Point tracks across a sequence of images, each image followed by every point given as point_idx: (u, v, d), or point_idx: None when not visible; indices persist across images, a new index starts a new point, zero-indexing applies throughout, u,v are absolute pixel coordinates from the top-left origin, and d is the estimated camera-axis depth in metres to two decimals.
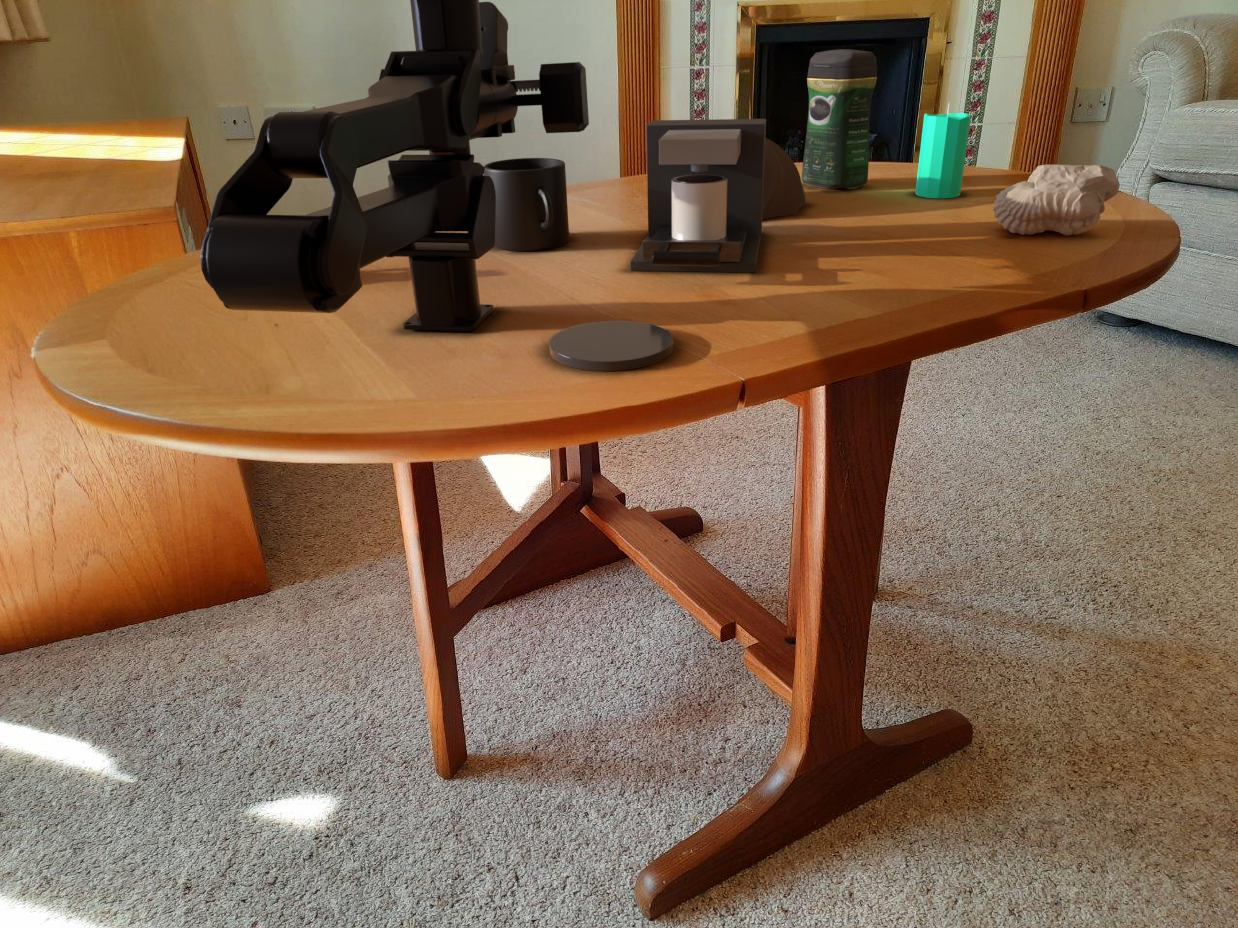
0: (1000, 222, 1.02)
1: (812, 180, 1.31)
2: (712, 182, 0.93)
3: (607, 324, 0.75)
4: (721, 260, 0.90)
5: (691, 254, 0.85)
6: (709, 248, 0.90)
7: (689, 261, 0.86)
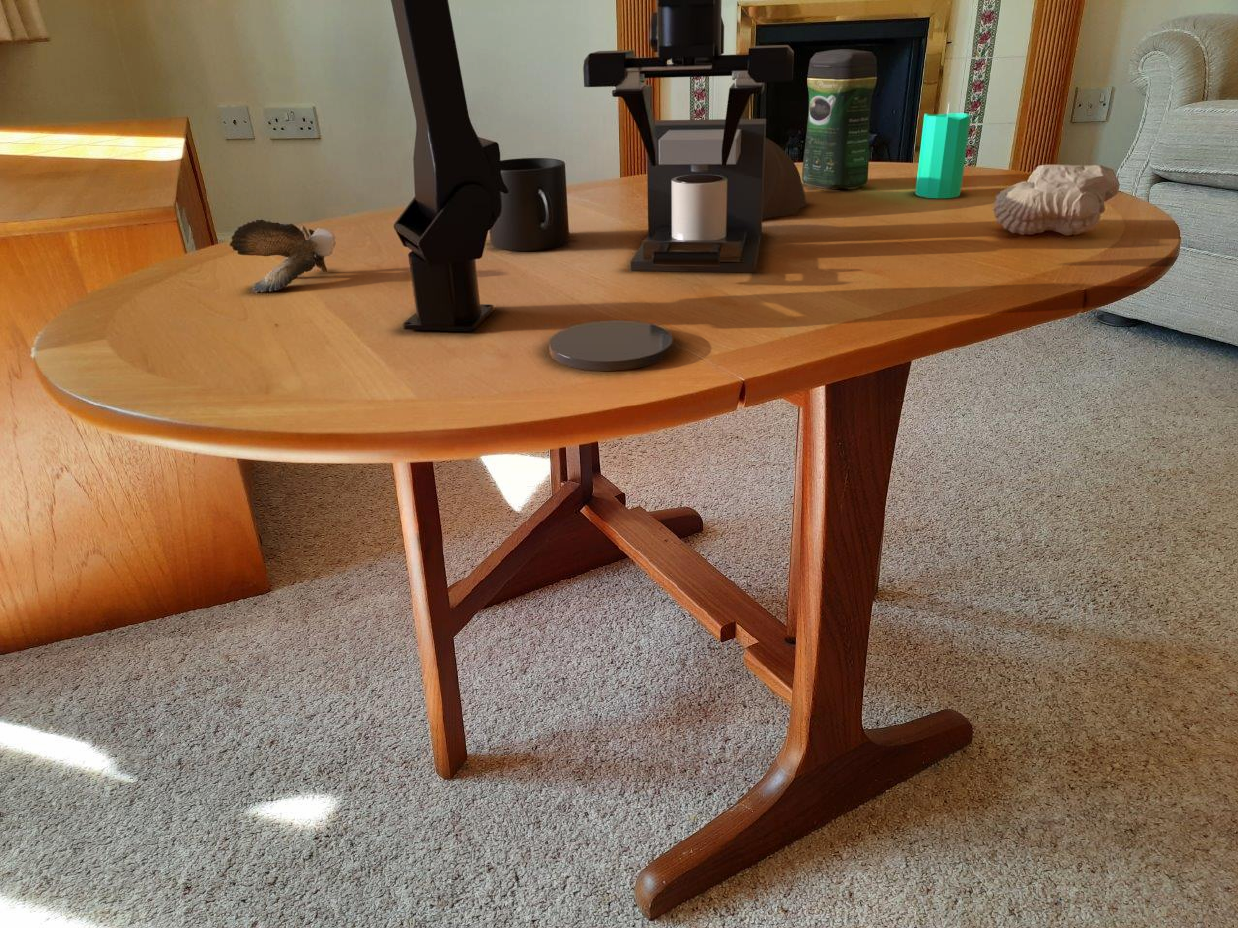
0: (1000, 222, 1.02)
1: (812, 180, 1.31)
2: (712, 182, 0.93)
3: (607, 324, 0.75)
4: (721, 260, 0.90)
5: (691, 254, 0.85)
6: (709, 248, 0.90)
7: (689, 261, 0.86)
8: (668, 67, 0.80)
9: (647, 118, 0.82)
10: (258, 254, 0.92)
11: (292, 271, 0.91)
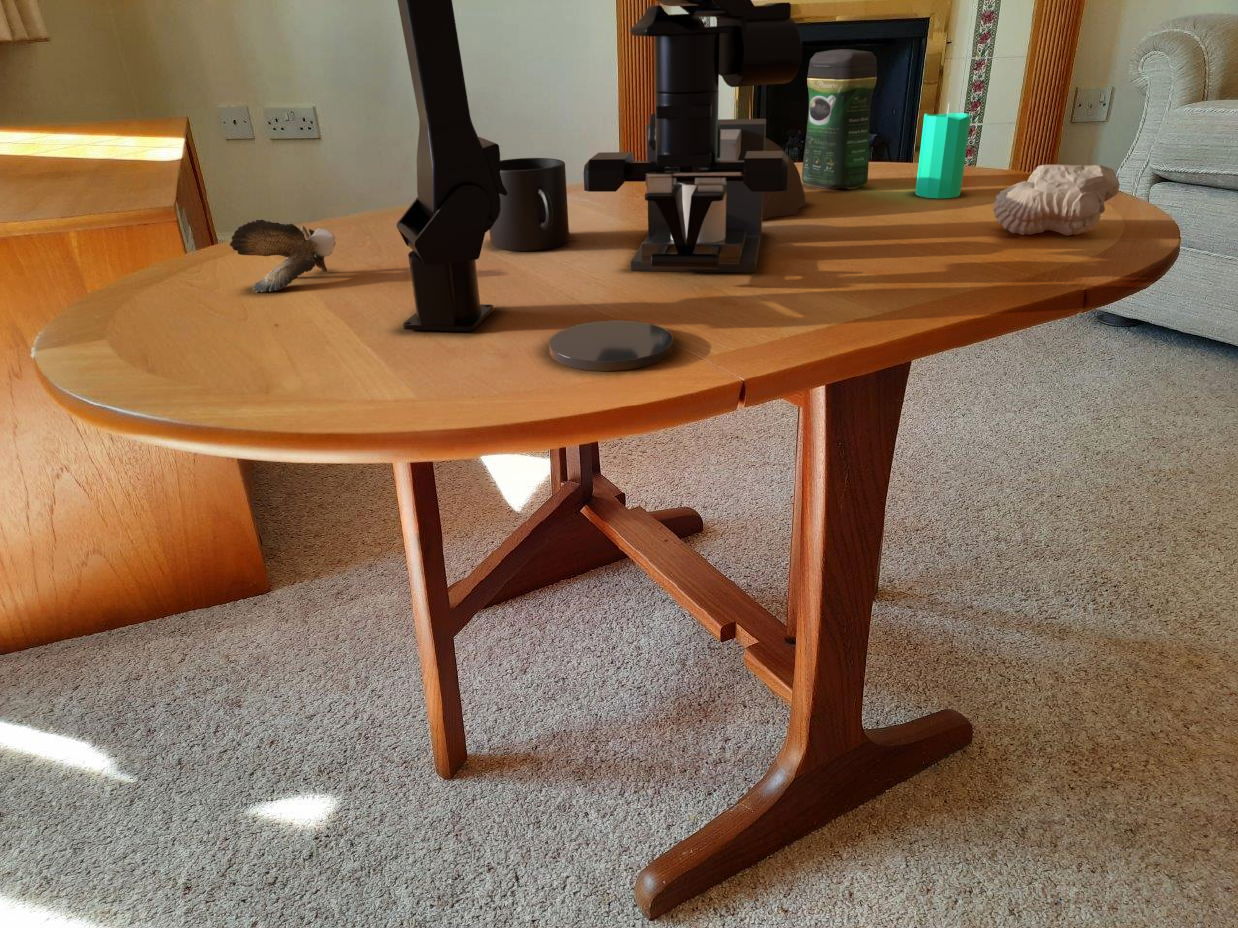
0: (1000, 222, 1.02)
1: (812, 180, 1.31)
2: None
3: (607, 324, 0.75)
4: (720, 262, 0.89)
5: (690, 256, 0.85)
6: (708, 250, 0.89)
7: (688, 264, 0.85)
8: (700, 173, 0.81)
9: (679, 220, 0.83)
10: (258, 254, 0.92)
11: (292, 271, 0.91)
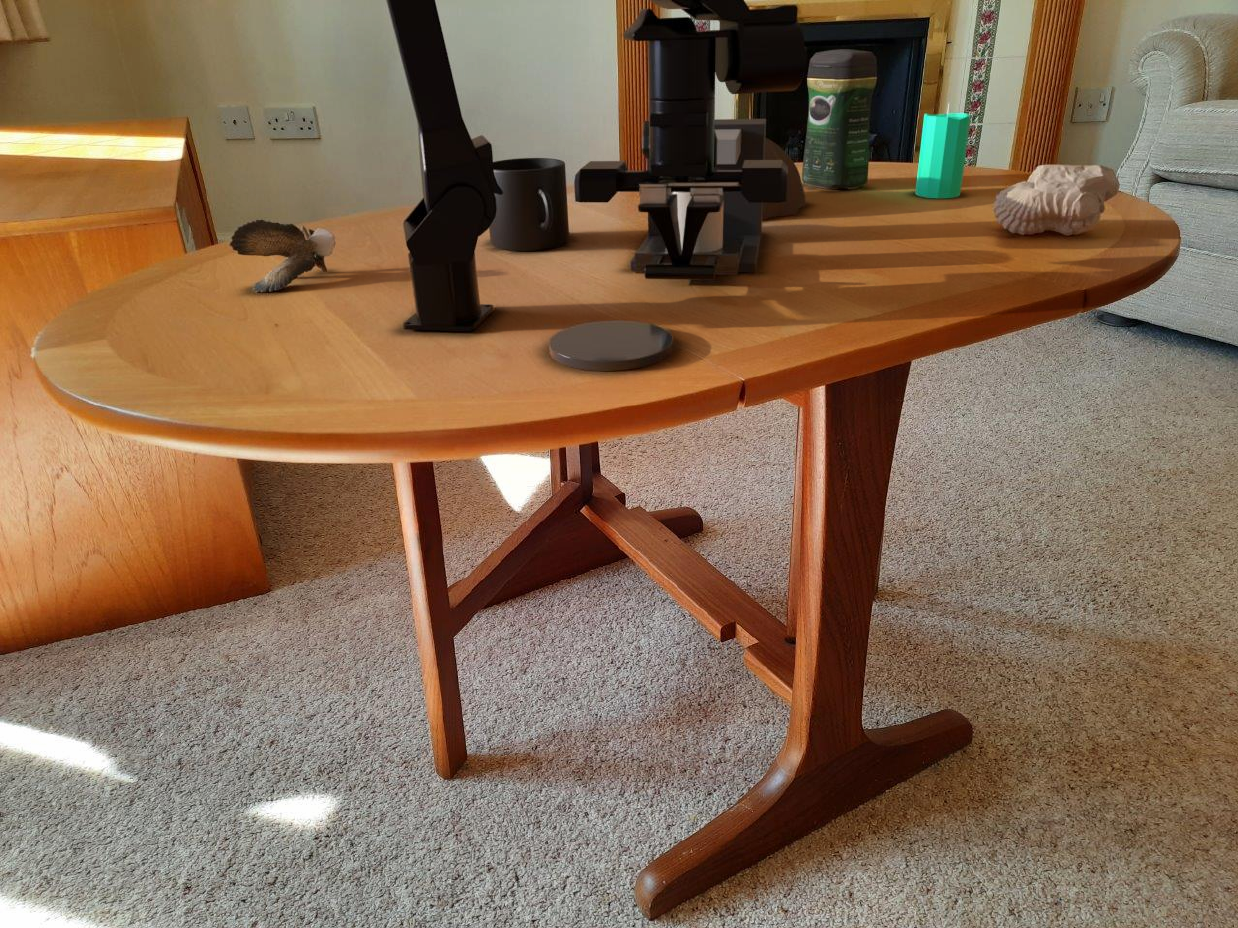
0: (1000, 222, 1.02)
1: (812, 180, 1.31)
2: None
3: (607, 324, 0.75)
4: (717, 273, 0.86)
5: (685, 267, 0.81)
6: (704, 260, 0.86)
7: (683, 275, 0.81)
8: (695, 183, 0.78)
9: (673, 232, 0.80)
10: (258, 254, 0.92)
11: (292, 271, 0.91)
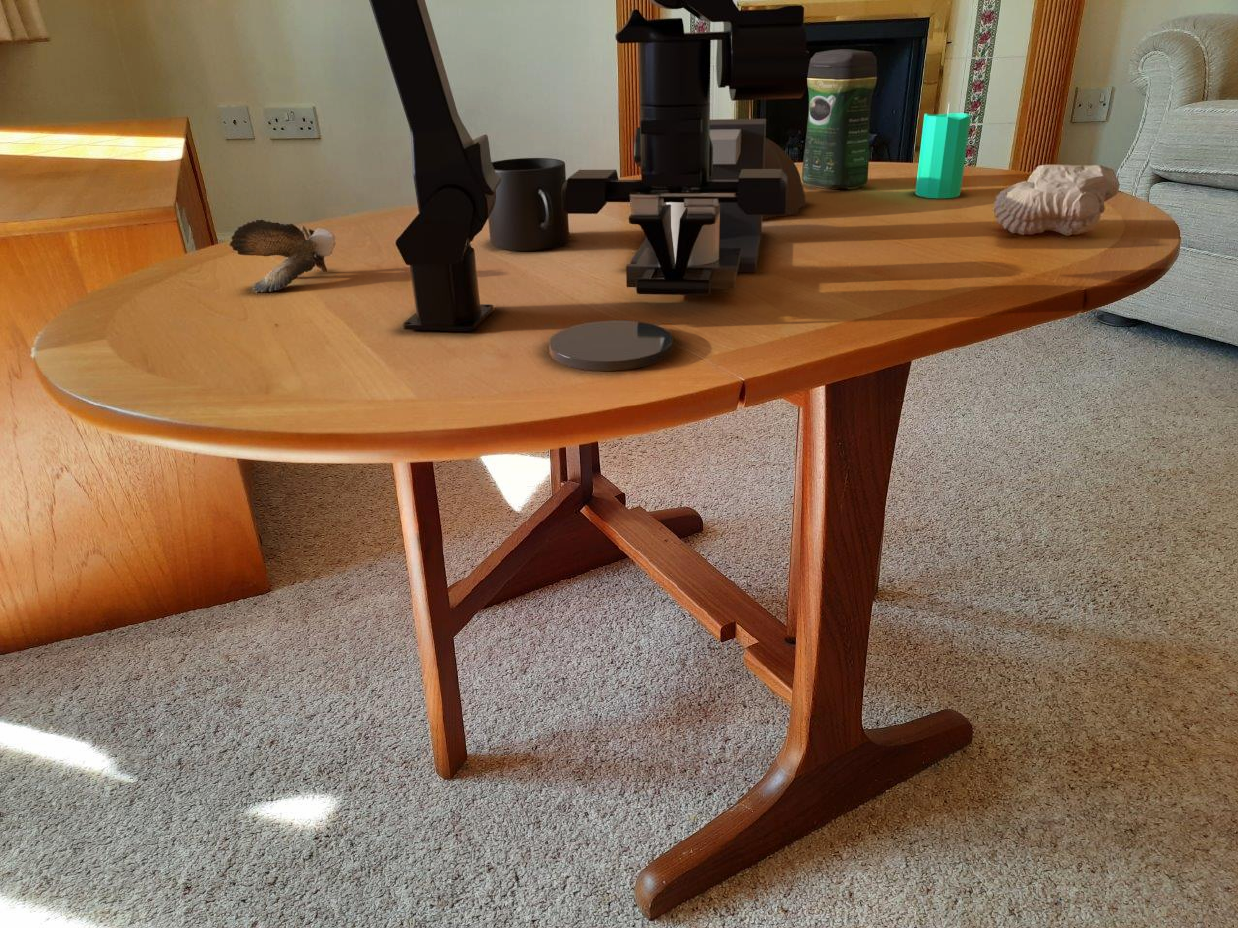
0: (1000, 222, 1.02)
1: (812, 180, 1.31)
2: None
3: (607, 324, 0.75)
4: (713, 287, 0.82)
5: (679, 282, 0.77)
6: (699, 274, 0.81)
7: (677, 290, 0.77)
8: (689, 193, 0.74)
9: (666, 245, 0.76)
10: (258, 254, 0.92)
11: (292, 271, 0.91)
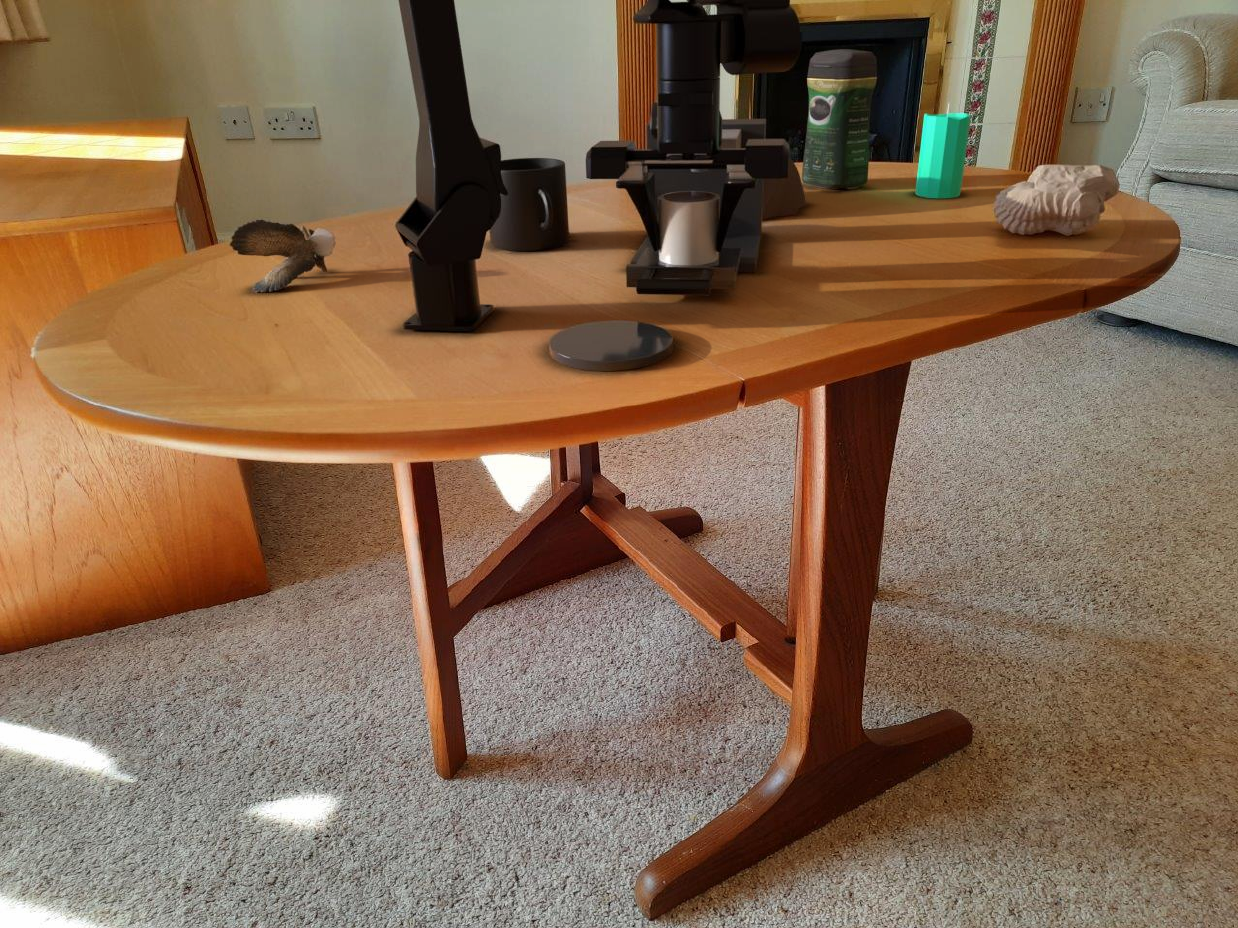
0: (1000, 222, 1.02)
1: (812, 180, 1.31)
2: (703, 200, 0.84)
3: (607, 324, 0.75)
4: (713, 287, 0.82)
5: (679, 282, 0.77)
6: (699, 274, 0.81)
7: (677, 290, 0.77)
8: (670, 160, 0.82)
9: (650, 208, 0.84)
10: (258, 254, 0.92)
11: (292, 271, 0.91)
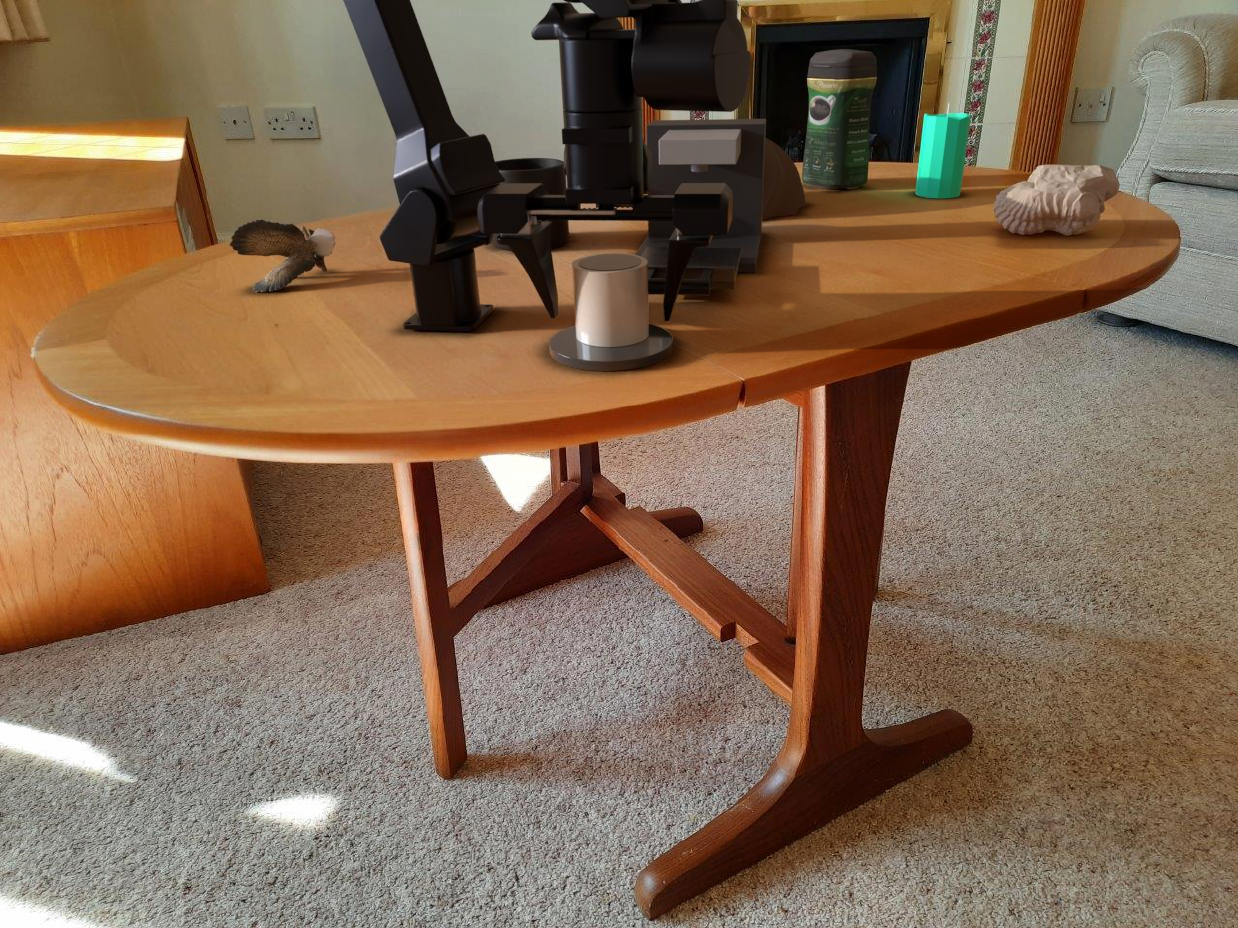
0: (1000, 222, 1.02)
1: (812, 180, 1.31)
2: (624, 269, 0.68)
3: None
4: (713, 287, 0.82)
5: None
6: (699, 274, 0.81)
7: None
8: (562, 210, 0.66)
9: (540, 268, 0.68)
10: (258, 254, 0.92)
11: (292, 271, 0.91)
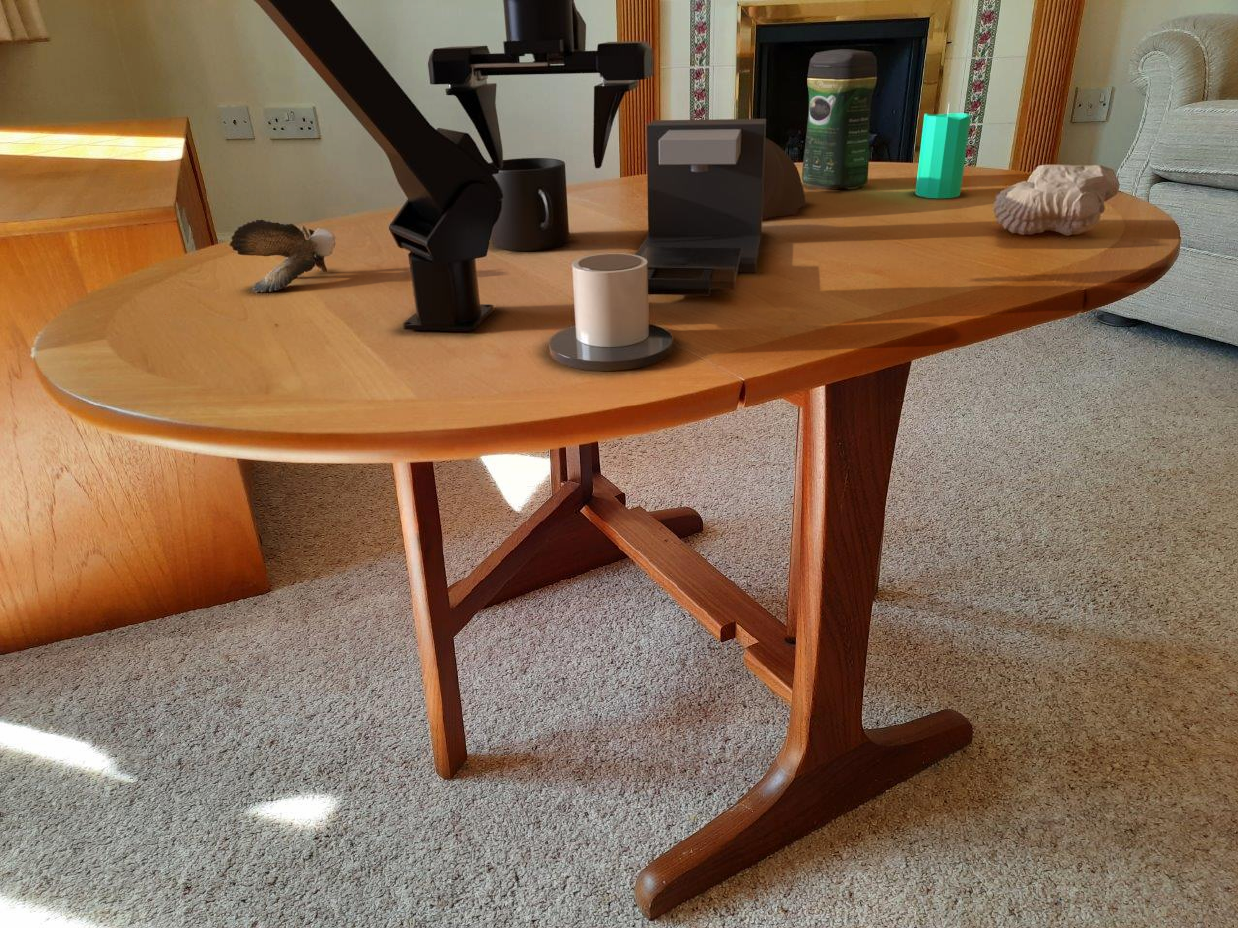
0: (1000, 222, 1.02)
1: (812, 180, 1.31)
2: (624, 269, 0.68)
3: None
4: (713, 287, 0.82)
5: (679, 282, 0.77)
6: (699, 274, 0.81)
7: (677, 290, 0.77)
8: (502, 63, 0.75)
9: (484, 118, 0.77)
10: (258, 254, 0.92)
11: (292, 271, 0.91)
